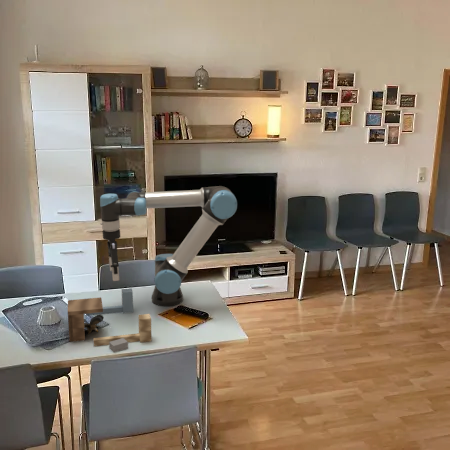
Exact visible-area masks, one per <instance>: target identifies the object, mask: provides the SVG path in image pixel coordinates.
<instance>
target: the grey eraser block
mask: <svg viewBox="0 0 450 450" xmlns="http://www.w3.org/2000/svg"><path fill="white" fill-rule="evenodd" d="M108 346H109V347H108V348H109V350H110V351H111V352H113V353H118V352H120V351H123V350H128V349H129V342H127V341H126V340H125V339H124V338H121V339H118V340H114V341H111V342H109V345H108Z"/></svg>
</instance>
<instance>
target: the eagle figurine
mask: <svg viewBox="0 0 450 450" xmlns="http://www.w3.org/2000/svg"><path fill="white" fill-rule="evenodd" d="M103 321H104V316H103V314H99V315H94V317H92V318H90V320H89V323H87V322H86V323H84V330H85V332H87V335H88V336H89V335H90V334H91V333H92V331H96V332H97V333H98V332H99V330H98V328H99V327H100V325H98V324H100V323H102V322H103ZM97 327H98V328H97ZM85 328H86V329H85Z"/></svg>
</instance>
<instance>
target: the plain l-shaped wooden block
mask: <svg viewBox="0 0 450 450" xmlns="http://www.w3.org/2000/svg"><path fill="white" fill-rule="evenodd" d="M137 315H138V333H130V334H120V335H111V336H101V337H93V347H101V346H109V342H111V341H114V340H118V339H121V338H124V339H125V340H126V341H127V342H128V343H135V342H139V343H146V342H147V343H149V342H152V317H151V313H144V314H137Z"/></svg>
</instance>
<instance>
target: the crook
mask: <svg viewBox="0 0 450 450" xmlns="http://www.w3.org/2000/svg"><path fill="white" fill-rule="evenodd" d="M133 294H134V292H133V289H132V288H131V287H130V288H121V305H113V306H110V305H109V306H103V312H99V313H88V314H87V315H89V316H96V315H106V314H107V315H108V314H116V313H117V314H118V313H123V314H128V313H129V314H130V313H133V312H134V301H133V300H134V298H133V297H134V296H133ZM86 317H87V316H86V315H85V314H84V322H85V321H86V322H87V318H86Z"/></svg>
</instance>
